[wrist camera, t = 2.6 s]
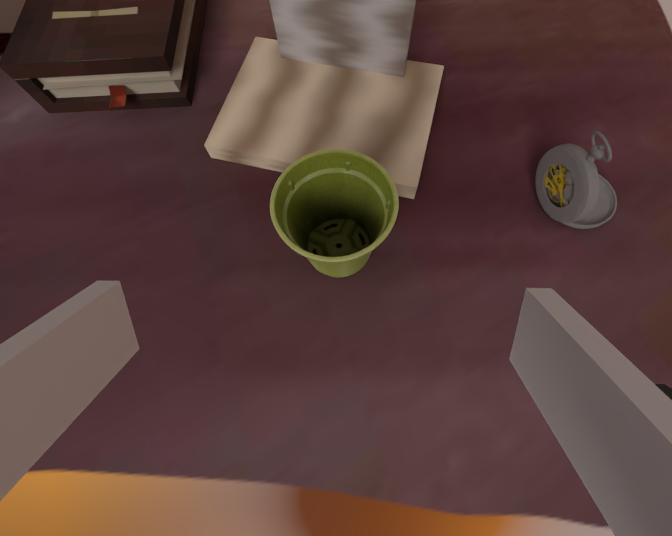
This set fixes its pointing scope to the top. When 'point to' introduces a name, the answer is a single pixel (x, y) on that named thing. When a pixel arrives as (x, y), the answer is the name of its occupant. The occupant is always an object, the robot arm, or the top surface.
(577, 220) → the pocket watch
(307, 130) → the shelf board
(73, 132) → the top surface
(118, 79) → the decorative book
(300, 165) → the plant pot
